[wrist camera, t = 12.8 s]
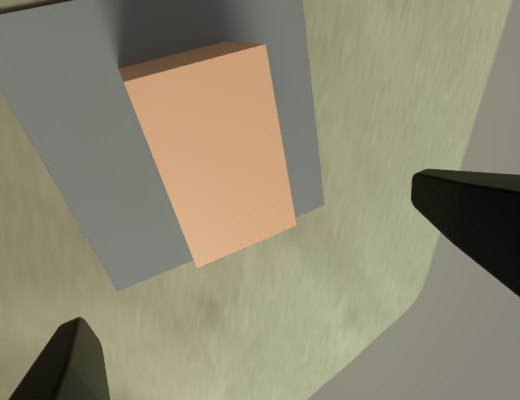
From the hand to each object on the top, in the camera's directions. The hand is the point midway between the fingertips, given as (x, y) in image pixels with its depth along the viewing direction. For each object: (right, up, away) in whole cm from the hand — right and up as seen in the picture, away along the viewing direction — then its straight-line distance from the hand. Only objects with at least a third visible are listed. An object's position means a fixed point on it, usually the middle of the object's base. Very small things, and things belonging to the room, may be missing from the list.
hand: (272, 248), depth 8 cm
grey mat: (-4, +4, +9) cm, 11 cm away
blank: (-4, +5, +9) cm, 11 cm away
